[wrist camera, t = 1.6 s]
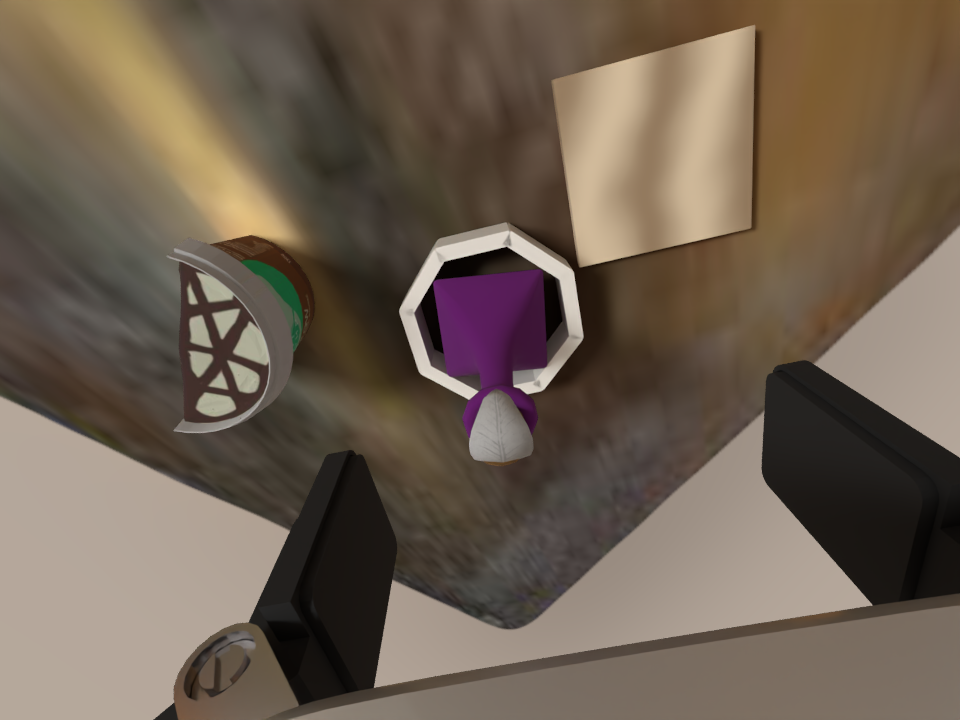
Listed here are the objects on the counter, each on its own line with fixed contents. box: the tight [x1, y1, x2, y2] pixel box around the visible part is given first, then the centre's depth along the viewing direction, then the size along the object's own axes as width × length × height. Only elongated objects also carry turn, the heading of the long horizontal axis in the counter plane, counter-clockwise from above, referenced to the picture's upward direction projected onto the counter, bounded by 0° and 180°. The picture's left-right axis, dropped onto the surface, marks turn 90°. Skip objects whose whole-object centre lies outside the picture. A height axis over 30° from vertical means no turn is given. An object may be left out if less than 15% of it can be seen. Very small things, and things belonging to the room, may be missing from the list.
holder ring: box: [399, 222, 584, 400], centre depth 35 cm, size 12×12×3 cm
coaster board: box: [551, 25, 755, 267], centre depth 31 cm, size 12×12×1 cm
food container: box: [167, 235, 315, 433], centre depth 31 cm, size 12×6×10 cm, turn 166°
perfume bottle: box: [433, 269, 547, 466], centre depth 28 cm, size 8×8×18 cm
